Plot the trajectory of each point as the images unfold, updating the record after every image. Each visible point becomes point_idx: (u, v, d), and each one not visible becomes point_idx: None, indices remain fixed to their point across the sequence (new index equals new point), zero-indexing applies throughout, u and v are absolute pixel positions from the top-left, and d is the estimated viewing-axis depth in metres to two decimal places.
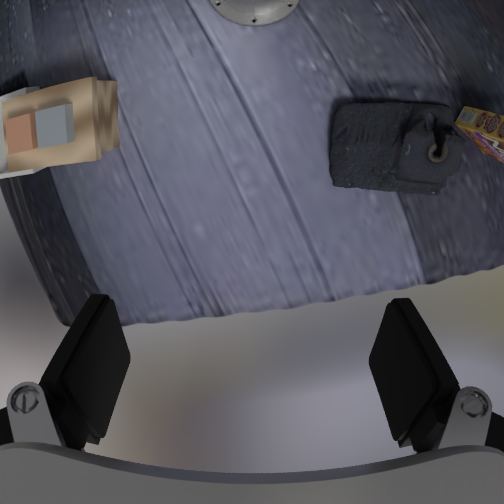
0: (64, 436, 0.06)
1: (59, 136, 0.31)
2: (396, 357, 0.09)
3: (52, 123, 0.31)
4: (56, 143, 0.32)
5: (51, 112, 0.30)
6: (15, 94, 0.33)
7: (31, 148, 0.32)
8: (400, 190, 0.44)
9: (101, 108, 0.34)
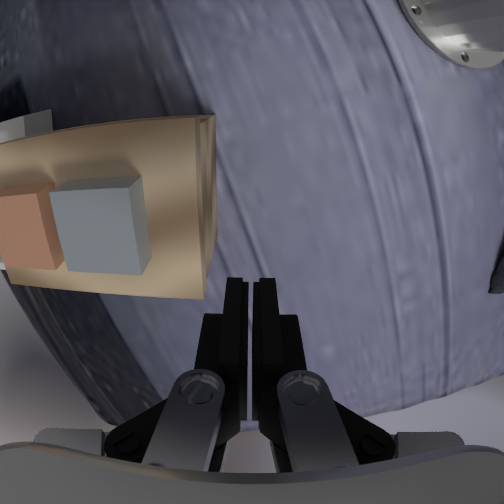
0: (216, 437, 0.07)
1: (120, 257, 0.16)
2: None
3: (98, 227, 0.15)
4: (112, 270, 0.16)
5: (92, 201, 0.14)
6: (4, 128, 0.17)
7: (52, 267, 0.17)
8: None
9: (205, 185, 0.19)
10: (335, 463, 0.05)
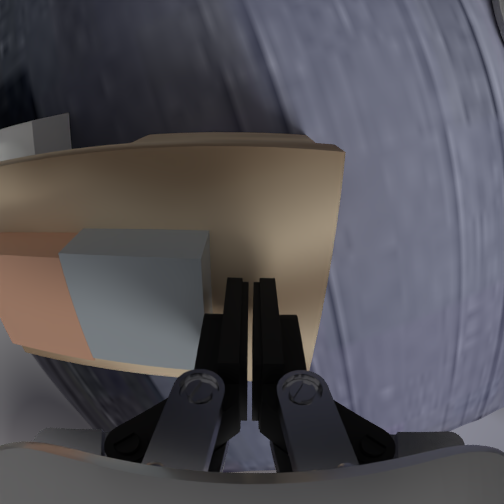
0: (216, 437, 0.07)
1: (178, 350, 0.11)
2: None
3: (143, 310, 0.10)
4: (164, 364, 0.11)
5: (134, 274, 0.09)
6: (4, 138, 0.12)
7: (88, 357, 0.11)
8: None
9: None
10: (335, 463, 0.05)
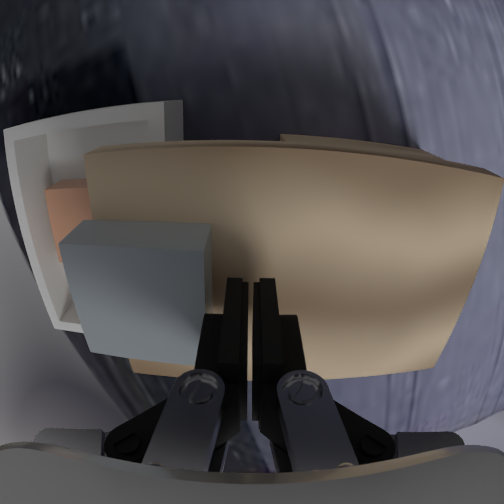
0: (216, 437, 0.07)
1: (177, 344, 0.11)
2: None
3: (143, 303, 0.10)
4: (162, 358, 0.11)
5: (136, 266, 0.09)
6: (115, 118, 0.13)
7: None
8: None
9: None
10: (335, 463, 0.05)
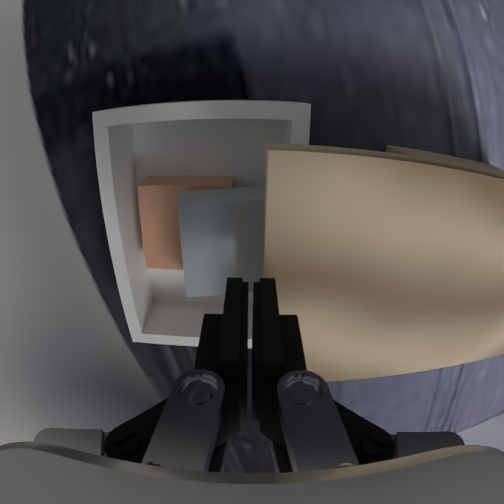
0: (216, 437, 0.07)
1: None
2: None
3: None
4: None
5: None
6: (254, 113, 0.13)
7: None
8: None
9: None
10: (335, 463, 0.05)
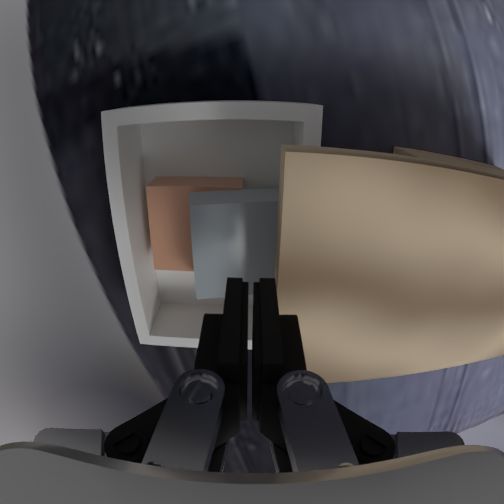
0: (216, 437, 0.07)
1: None
2: None
3: None
4: None
5: None
6: (267, 114, 0.13)
7: None
8: None
9: None
10: (335, 463, 0.05)
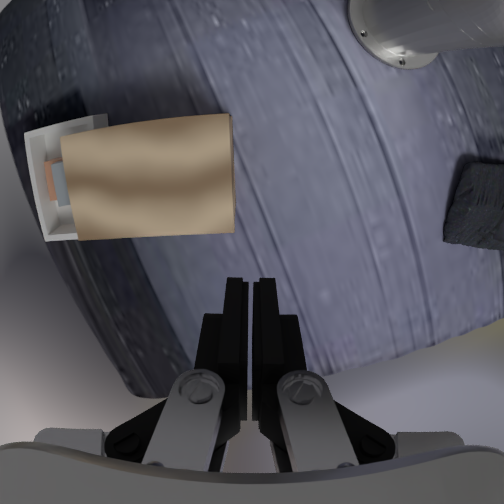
0: (216, 437, 0.07)
1: None
2: None
3: None
4: None
5: None
6: (74, 124, 0.28)
7: None
8: (491, 248, 0.40)
9: None
10: (335, 463, 0.05)
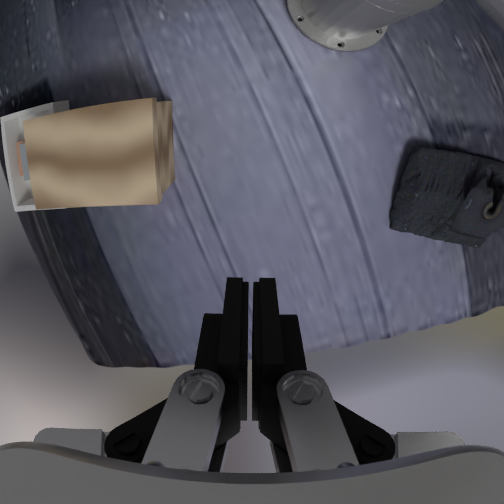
0: (216, 437, 0.07)
1: None
2: None
3: None
4: None
5: None
6: (38, 110, 0.29)
7: None
8: (449, 240, 0.41)
9: (160, 137, 0.31)
10: (335, 463, 0.05)
